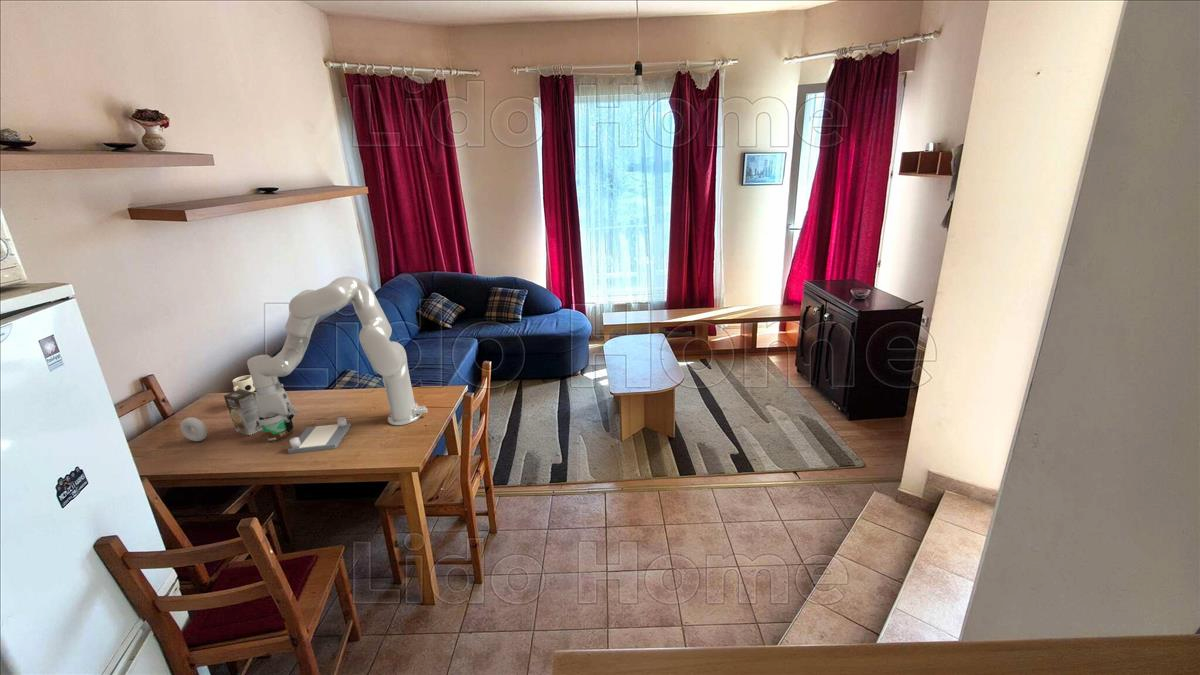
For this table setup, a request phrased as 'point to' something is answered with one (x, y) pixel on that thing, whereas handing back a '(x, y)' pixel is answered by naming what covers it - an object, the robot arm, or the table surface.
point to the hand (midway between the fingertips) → (281, 430)
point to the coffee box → (243, 411)
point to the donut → (198, 426)
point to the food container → (275, 428)
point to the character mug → (244, 383)
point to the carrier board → (319, 437)
